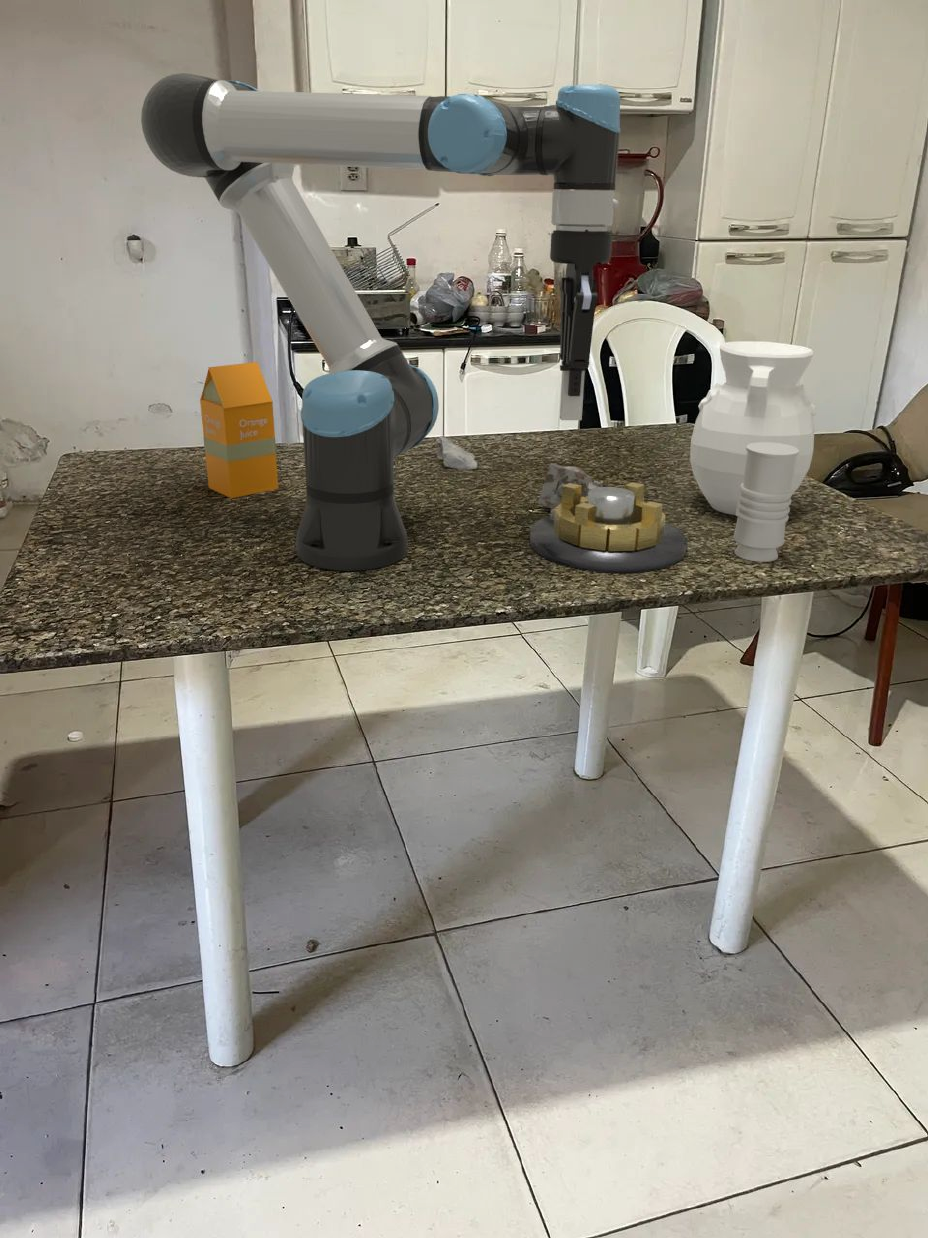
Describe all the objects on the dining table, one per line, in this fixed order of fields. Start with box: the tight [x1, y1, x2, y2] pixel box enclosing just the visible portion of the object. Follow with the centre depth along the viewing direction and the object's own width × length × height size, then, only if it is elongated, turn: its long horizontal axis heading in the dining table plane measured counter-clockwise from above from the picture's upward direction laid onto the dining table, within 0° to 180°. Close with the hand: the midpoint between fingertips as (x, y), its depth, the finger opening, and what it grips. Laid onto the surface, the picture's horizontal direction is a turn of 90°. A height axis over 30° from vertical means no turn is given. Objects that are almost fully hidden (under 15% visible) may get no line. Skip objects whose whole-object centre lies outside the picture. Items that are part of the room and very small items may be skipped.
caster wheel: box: [538, 463, 610, 510], centre depth 149 cm, size 7×11×10 cm
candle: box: [733, 442, 799, 563], centre depth 129 cm, size 7×7×15 cm
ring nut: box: [550, 482, 667, 551], centre depth 133 cm, size 15×15×6 cm
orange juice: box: [199, 361, 279, 499], centre depth 152 cm, size 8×9×20 cm
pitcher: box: [689, 340, 817, 516], centre depth 147 cm, size 19×18×25 cm
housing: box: [529, 486, 688, 574], centre depth 133 cm, size 22×22×8 cm
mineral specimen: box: [435, 435, 478, 471], centre depth 173 cm, size 6×12×4 cm, turn 9°
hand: (570, 418), depth 127 cm, fingers closed
